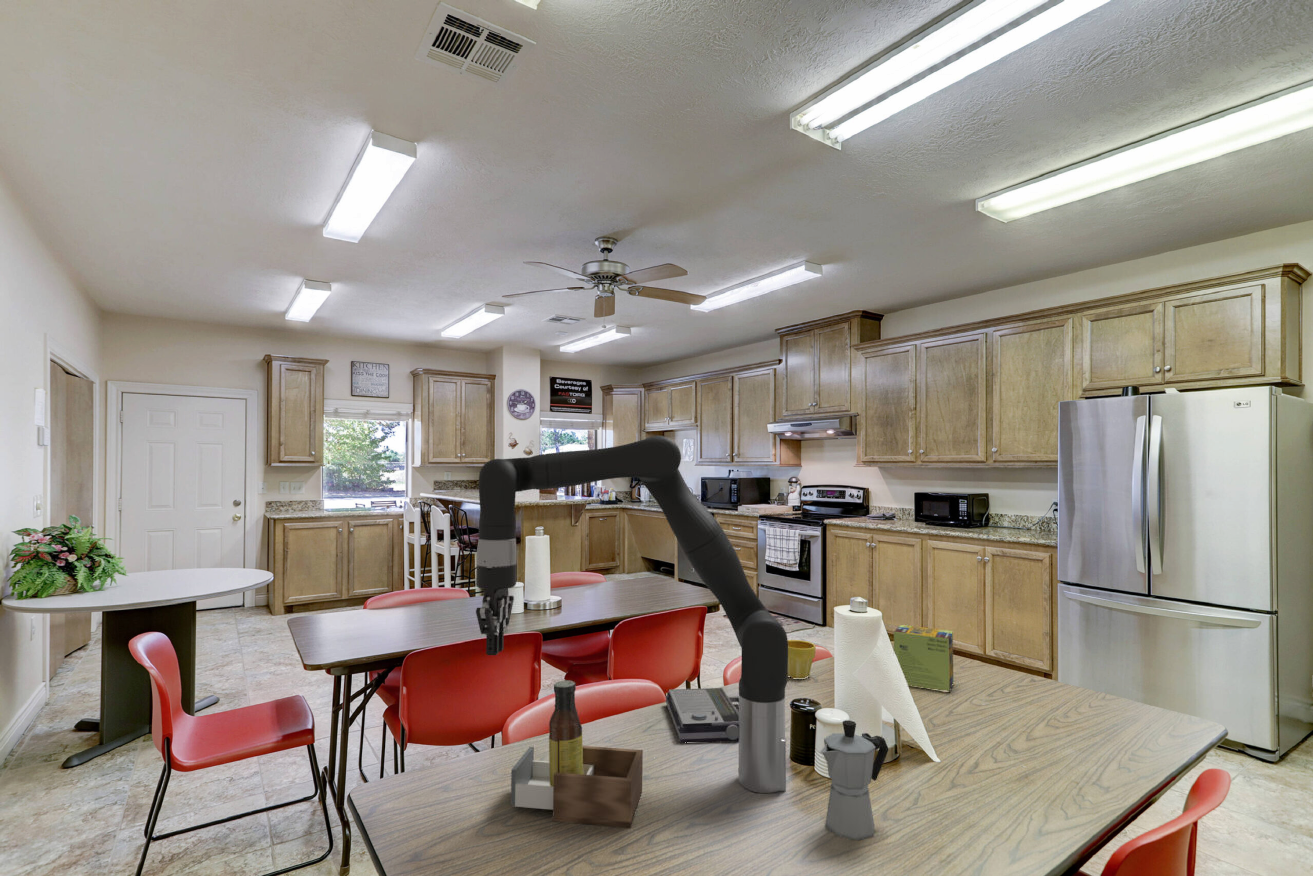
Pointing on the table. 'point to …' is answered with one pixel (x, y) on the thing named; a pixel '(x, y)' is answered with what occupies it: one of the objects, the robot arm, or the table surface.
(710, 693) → the radio
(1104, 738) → the table surface
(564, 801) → the caddy
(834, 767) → the coffee maker
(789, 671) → the plant pot
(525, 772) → the tray
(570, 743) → the sauce bottle
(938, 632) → the protein box
